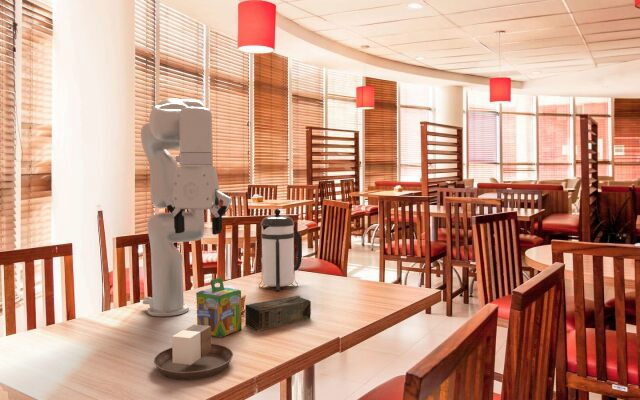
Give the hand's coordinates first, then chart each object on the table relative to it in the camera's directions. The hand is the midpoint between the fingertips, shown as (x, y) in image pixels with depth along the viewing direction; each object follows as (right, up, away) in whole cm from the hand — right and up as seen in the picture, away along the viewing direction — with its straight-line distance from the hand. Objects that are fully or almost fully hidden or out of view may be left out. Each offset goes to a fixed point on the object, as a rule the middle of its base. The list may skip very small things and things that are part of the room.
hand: (198, 233), depth 122 cm
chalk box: (+1, -29, +22) cm, 37 cm away
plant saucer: (0, -31, -3) cm, 31 cm away
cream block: (-1, -28, -6) cm, 29 cm away
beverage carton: (+17, -29, +31) cm, 45 cm away
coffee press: (+13, -26, +76) cm, 81 cm away
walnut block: (0, -28, -2) cm, 28 cm away
